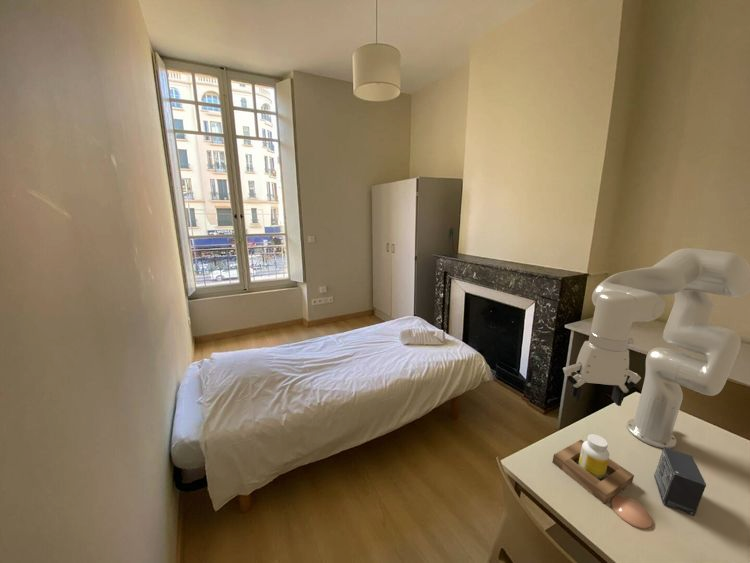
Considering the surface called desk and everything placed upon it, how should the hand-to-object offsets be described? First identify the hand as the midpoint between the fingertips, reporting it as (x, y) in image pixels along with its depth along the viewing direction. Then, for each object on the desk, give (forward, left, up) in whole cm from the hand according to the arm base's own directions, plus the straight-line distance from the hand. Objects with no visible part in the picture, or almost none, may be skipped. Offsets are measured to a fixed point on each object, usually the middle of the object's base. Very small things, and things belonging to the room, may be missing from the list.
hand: (594, 400), depth 79 cm
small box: (-19, +14, -27) cm, 36 cm away
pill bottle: (-6, 0, -27) cm, 28 cm away
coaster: (-3, +12, -27) cm, 30 cm away
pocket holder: (-6, 0, -27) cm, 28 cm away
